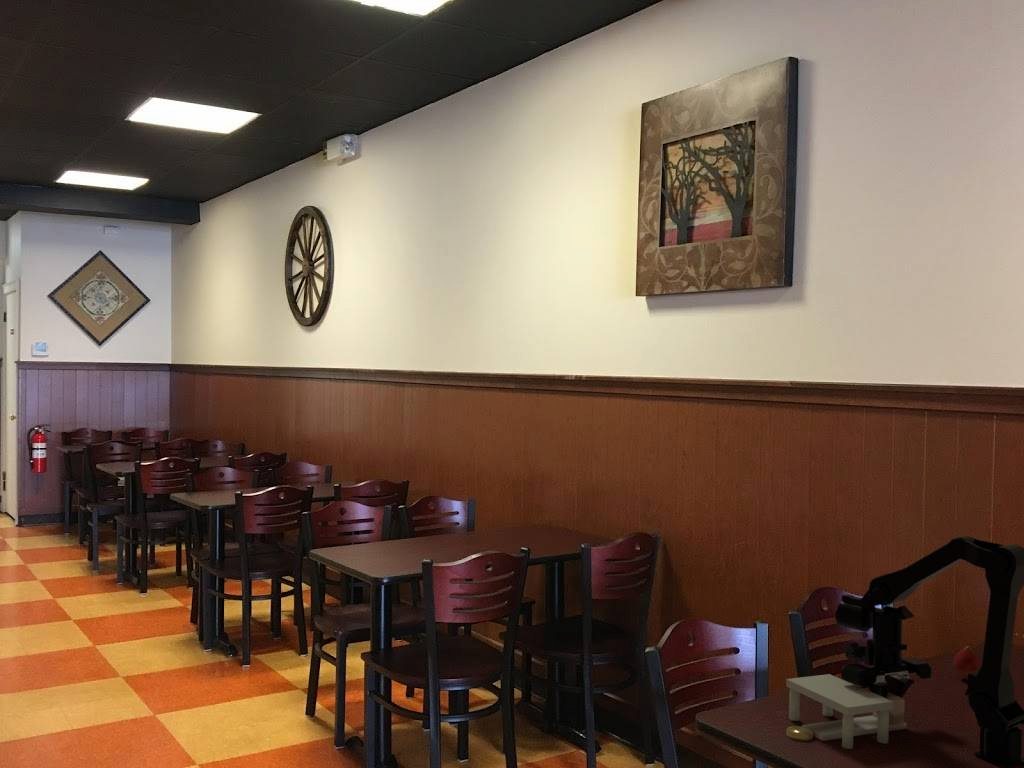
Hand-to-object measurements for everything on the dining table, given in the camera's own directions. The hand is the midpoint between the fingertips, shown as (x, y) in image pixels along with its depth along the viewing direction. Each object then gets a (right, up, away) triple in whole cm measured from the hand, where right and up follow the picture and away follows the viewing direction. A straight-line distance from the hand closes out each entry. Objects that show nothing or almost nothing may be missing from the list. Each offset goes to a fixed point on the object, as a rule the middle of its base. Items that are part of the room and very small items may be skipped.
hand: (885, 713), depth 198 cm
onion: (+31, -3, +31) cm, 44 cm away
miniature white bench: (-11, -2, -5) cm, 12 cm away
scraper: (-8, -2, -4) cm, 9 cm away
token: (-20, -2, -8) cm, 22 cm away
